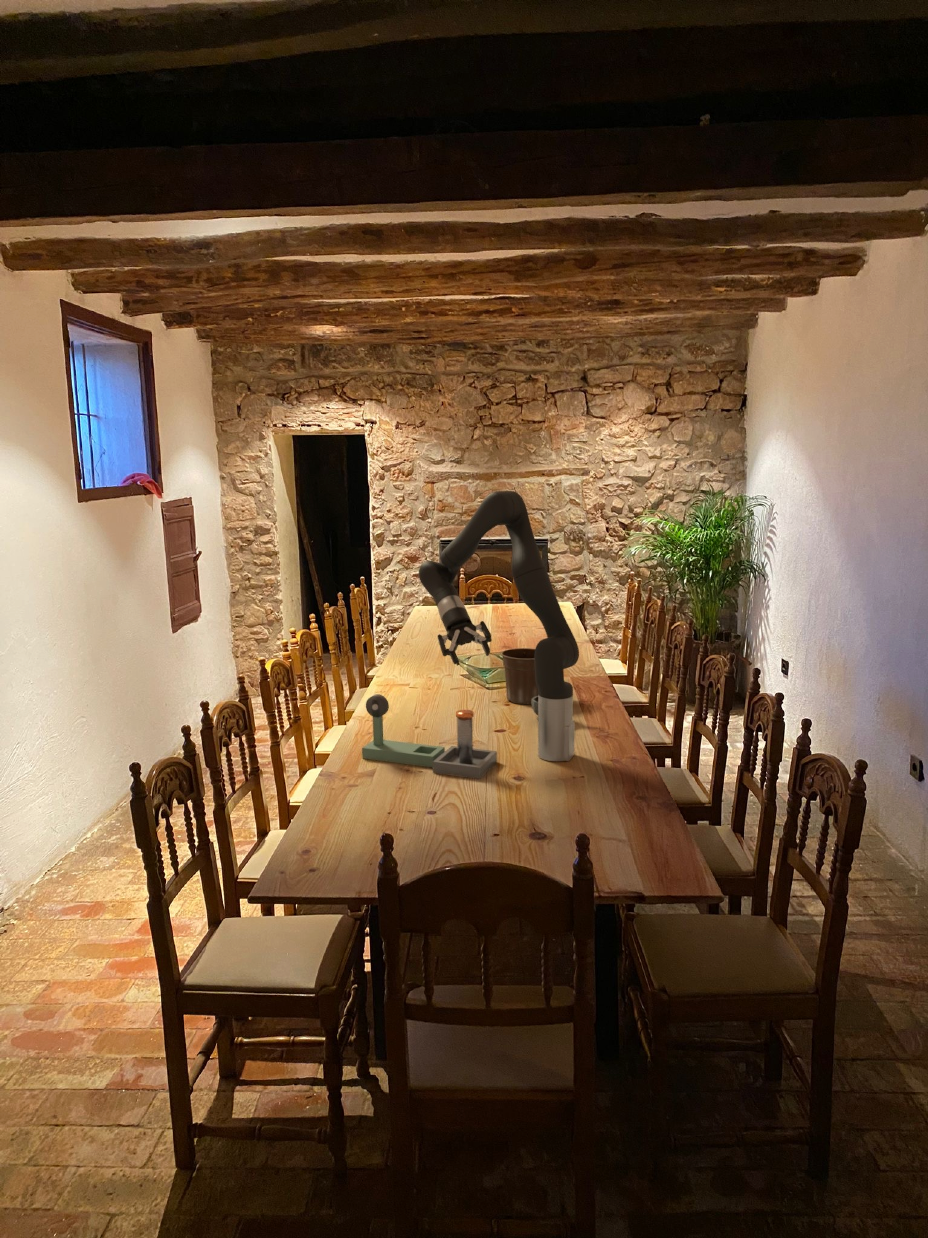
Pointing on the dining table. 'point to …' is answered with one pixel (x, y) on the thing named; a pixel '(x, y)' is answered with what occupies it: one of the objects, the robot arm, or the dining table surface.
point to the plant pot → (520, 675)
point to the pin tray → (450, 765)
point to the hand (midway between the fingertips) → (473, 658)
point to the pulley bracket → (395, 749)
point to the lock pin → (465, 736)
